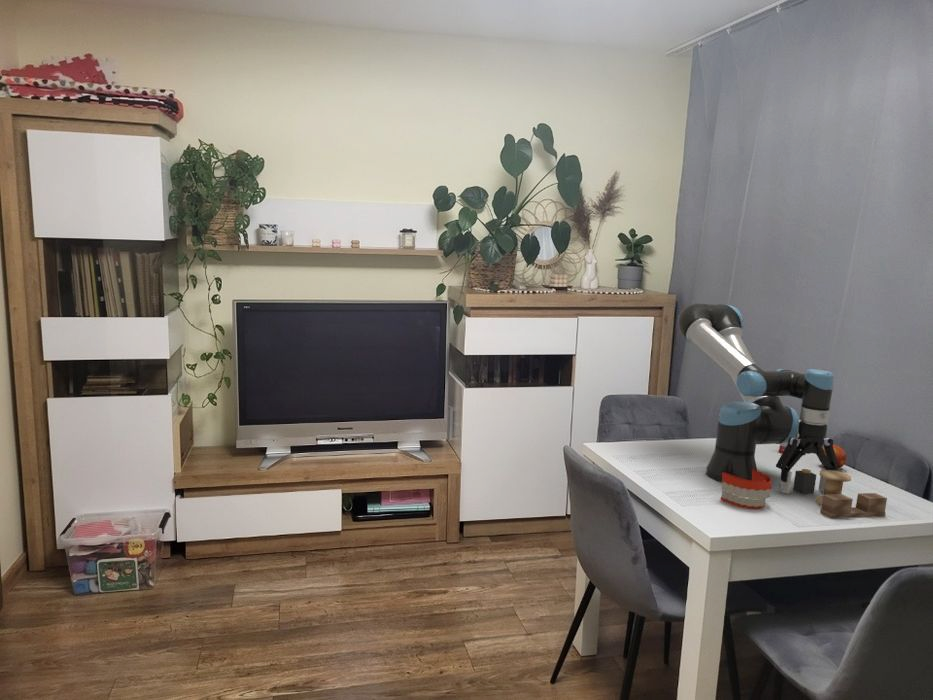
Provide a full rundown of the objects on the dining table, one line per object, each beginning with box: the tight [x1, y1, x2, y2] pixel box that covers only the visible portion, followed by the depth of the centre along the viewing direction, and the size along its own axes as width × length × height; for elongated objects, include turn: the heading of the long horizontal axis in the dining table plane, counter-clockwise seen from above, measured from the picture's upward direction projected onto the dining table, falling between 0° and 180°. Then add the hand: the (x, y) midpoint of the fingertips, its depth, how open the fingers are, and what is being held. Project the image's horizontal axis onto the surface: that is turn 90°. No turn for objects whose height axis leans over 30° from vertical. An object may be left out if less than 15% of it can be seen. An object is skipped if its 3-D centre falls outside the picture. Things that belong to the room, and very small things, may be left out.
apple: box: [822, 444, 847, 470], centre depth 240 cm, size 8×8×8 cm
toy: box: [720, 470, 772, 510], centre depth 198 cm, size 12×10×8 cm
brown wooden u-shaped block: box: [819, 492, 888, 519], centre depth 196 cm, size 18×4×5 cm, turn 105°
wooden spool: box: [815, 470, 852, 506], centre depth 203 cm, size 8×8×9 cm
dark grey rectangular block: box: [792, 468, 817, 495], centre depth 213 cm, size 4×4×7 cm
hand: (803, 491), depth 213 cm, fingers open, 13 cm apart
